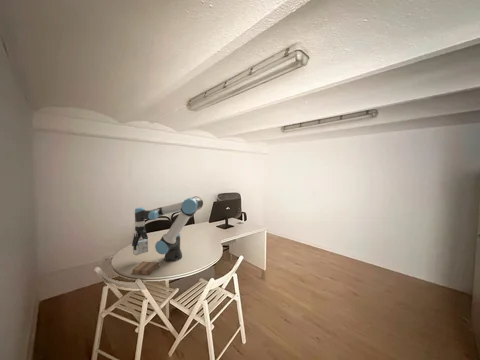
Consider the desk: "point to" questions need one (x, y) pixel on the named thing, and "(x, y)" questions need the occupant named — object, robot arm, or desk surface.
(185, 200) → the robot arm
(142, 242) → the light bulb box
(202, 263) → the desk surface
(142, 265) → the block
